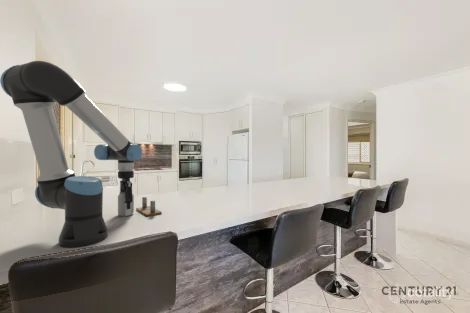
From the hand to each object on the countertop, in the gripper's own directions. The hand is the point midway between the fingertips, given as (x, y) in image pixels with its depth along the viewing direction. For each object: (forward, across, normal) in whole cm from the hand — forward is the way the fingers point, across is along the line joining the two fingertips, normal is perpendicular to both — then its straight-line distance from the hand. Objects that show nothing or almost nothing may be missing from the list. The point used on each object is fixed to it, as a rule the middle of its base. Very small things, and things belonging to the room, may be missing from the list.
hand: (125, 213), depth 115 cm
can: (+1, 0, 0) cm, 1 cm away
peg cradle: (+1, -2, -11) cm, 11 cm away
